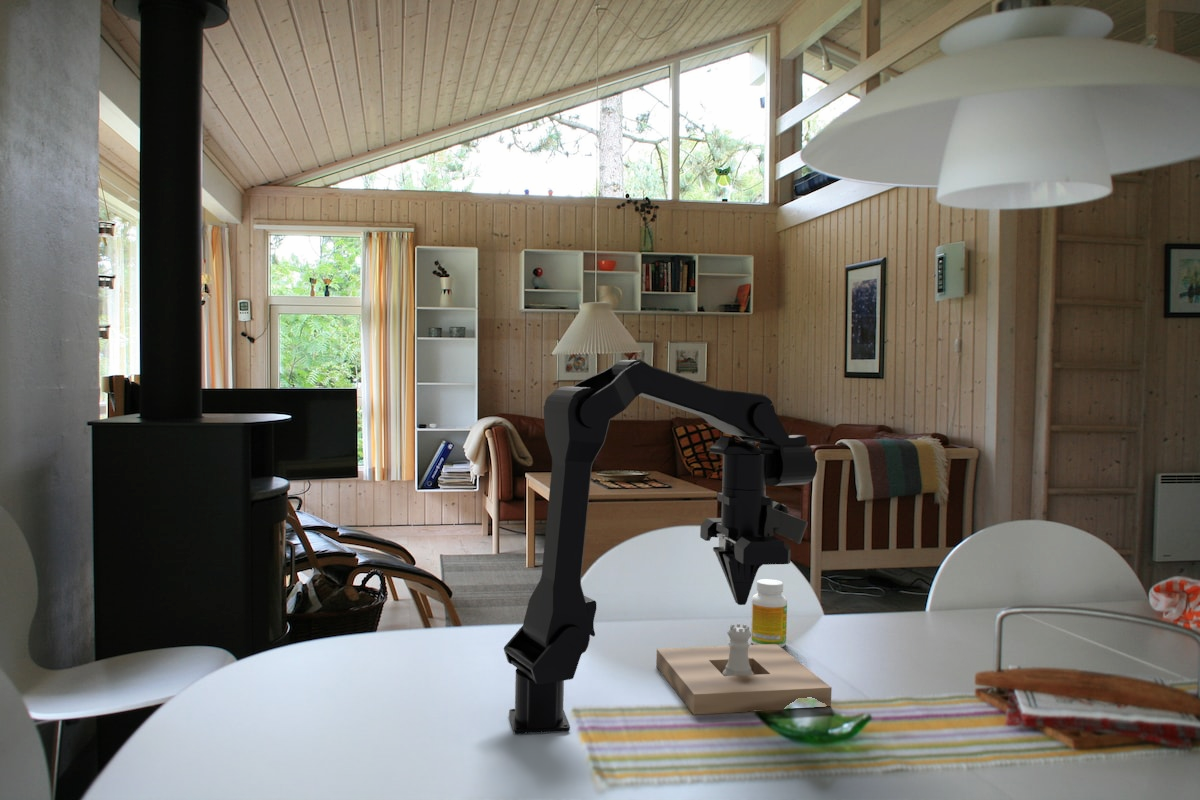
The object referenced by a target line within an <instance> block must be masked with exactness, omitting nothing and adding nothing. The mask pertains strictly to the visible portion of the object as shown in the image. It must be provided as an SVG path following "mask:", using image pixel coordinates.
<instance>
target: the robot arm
mask: <svg viewBox="0 0 1200 800" xmlns="http://www.w3.org/2000/svg"><path fill="white" fill-rule="evenodd" d="M638 396H639V397H641V398H644V399H648V400H649V401H651V400H652V401H654V402H657V403H660V404H663V405H667V406H669V407H673V408H676V409H679V410H683V411H685V412H687V413H691V414H694V415H697V417H700V418H702V419H704V420H705V422H707V423H708V424H709V425H710V426H711V427H713V428H715V429H717V430H719V431H721V432H722V433H724V434H727V435H721V436H720V437H719V439H718V440H717V441H716V442H714V443H713V444H712V445H711V446H709V449H708V450H709V453H710V454H716V455H717V454H718V455H722V481H721V483H722V488H721V492H717V493H716V496H717V497H716V498H717V499H716V501H718V502H721V517H707V518H706V519H705V520H703V521H702V523H701V524H700V534H699V538H700V539H703V540H704V541H709V542H710V540H711V539H712V538H718V546H713V548H712V551H713V552H714V553H715V556H716V558H717V561H718V563H719V565H720V567H721V569H722V572H723V574H724V575H723V576H724V577H725V579H726V582H727V584H728V587H729V589H730V592H731V594H732V596H733V597H732V598H733V600H734V602H735V604H737V605H738V606H745V605H746V604H747V602H748V599H749V596H750V592H751V590H752V587H753V584H754V581H755V580H756V579H755V578H756V575H757V573H758V570H759V568H761V567H762V566H764V565H766V566H767V565H789V564H791V552H792V551H791V547H790V546H789V544H787V543H786V541H785V540H783V539H780V538H778V537H777V536H774V534H776V535H779V536H781V537H783V538H786V539H789V540H791V541H792V542H793V543H796V544H799V545H800V544H801V543H802V540H803V538H804V534H805V531H806V530H807V529H806V528H807V526H808V524H809V522H808V521H807V520H804V519H802V518H799V517H797V516H794V515H793V514H792V515H791V514H789V512H788V506H787V505H784V504H782V503H779V502H778V501H777V502H776V501H773V499H772V498H771V497H770V496H767V495H766V493H767V492H766V489H767V487H766V486H767V485H768V486H771V487H774V486H775V487H777V486H778V487H779V486H795V485H796V486H797V485H808V484H809V483H811V482H812V481H813V480H814V478H815V477H816V474H817V471H818V461H817V459H816V456H815V453H814V451H813V449H812V448H811V446H809V445H808V437H807V436H806V435H802V434H791V435H788V433H787V431H786V429H785V428H784V426H783V423H782V422H781V420H780V418H779V417H778V415H777V413H776V409H775V406H774V404H773V403H774V401H773V400H772V398H770V397H769V396H767V395H766V394H763V393H762V394H761V393H753V392H745V391H736V390H727V389H726V390H724V389H720V388H719V389H718V388H715V387H713V386H710V385H707V384H704V383H701V382H698V381H695V380H693V379H690V378H686V377H684V376H681V375H678V374H676V373H673V372H670V371H666V370H664V369H661V368H658V367H656V366H652V365H650V364H648V363H647V362H646V361H643V360H641V359H640V360H639V359H623V360H618V361H617V362H616V363H614V364H612V365H611V366H610V367H607V369H605V370H603V371H600V372H598V373H596V374H594V375H592V376H589V377H587V378H585V379H582V380H580V381H579V382H577V383H575V384H573V385H572V386H561V387H559V388H556V389H555V390H553V391H552V392H551V393H550V394H548V395H547V397H546V399H545V400H544V401H545V402H544V406H543V421H544V436H545V439H546V442H547V446H548V449H549V452H550V456H551V462H552V463H551V471H550V472H551V473H550V482H549V483H550V484H549V495H548V504H547V505H548V506H547V516H546V523H545V525H546V526H545V536H544V545H543V547H544V548H543V557H542V567H541V575H540V579H539V582H538V583H537V585H536V587H535V589H534V590H533V592H532V594H531V595H530V598H529V600H528V603H527V608H526V612H525V616H524V620H523V623H522V626H521V627H520V628H519V629H518V630H517V631H516V632H515V634H514V635H513V636H512V637H511V638H510V640H508V642H507V643H506V644H505V646H504V647H503V651H504V654H505V657H506V660H507V663H509V664H510V665H512V666H514V667H515V668H516V669H515V684H514V685H515V687H514V688H515V691H514V692H515V695H514V696H515V697H514V708H510V709H509V711H508V715H509V719H510V723H511V727H512V730H513V731H512V732H513V734H516V735H521V734H537V733H556V732H568V731H570V730H571V725H570V723H569V720H568V717H567V714H566V712H565V710H564V695H565V690H564V689H565V681H568V680H569V681H570V680H573V679H574V677H575V674H576V672H577V669H578V666H579V663H580V660H581V657H582V654H585V653H586V651H587V649H588V648H589V644H590V640H591V637H596V632H595V629H594V628H595V627H594V624H595V623H594V621H595V616H596V613H597V612H596V611H597V601H596V600H594V599H592V598H590V597H588V596H586V595H585V594H584V591H583V587H582V574H583V573H582V572H583V563H584V562H583V561H584V551H585V541H586V531H587V530H586V529H587V521H588V520H587V519H588V509H589V501H590V500H589V499H590V491H591V490H590V488H591V479H592V469H593V468H592V467H593V464H594V461H595V460H596V457H597V456H598V454H599V452H600V451H601V449H602V447H603V445H604V444H605V442H606V438H607V433H608V430H609V426H610V422H611V419H613V418H614V417H616V416H617V415H618V414H621V412H623V411H625V410H626V409H627V408H628V406H629V405H630V404H631V403H632V402H633V401H634V400H635V399H636V398H637V397H638ZM730 435H731V436H730ZM733 436H736V437H737V438H738V439H740V440H738V441H737V440H735V439H734V438H733ZM755 443H756V444H758V446H757V445H756V444H755ZM766 484H767V485H766Z"/></svg>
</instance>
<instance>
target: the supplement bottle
mask: <svg viewBox="0 0 1200 800" xmlns="http://www.w3.org/2000/svg"><path fill="white" fill-rule="evenodd" d="M756 590H757V593H755V594H754V595H753V596H752V599H751V616H750V617H751V621H750V622H751V623H750V626H751V627H750V633H751V634H752V635H751V637H750V642H751V645H763V644H777V645H778V646H780V647H781V648H783V647H786V644H787V620H788V619H787V618H788V617H787V616H788V599H787V597H785V595H783V594H782V593H783V592H784V582H782V581H781V580H779V579H773V578H772V579H771V578H762V579H758V580H757V581H756Z"/></svg>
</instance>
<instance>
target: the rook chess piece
mask: <svg viewBox="0 0 1200 800" xmlns="http://www.w3.org/2000/svg"><path fill="white" fill-rule="evenodd" d="M726 633H727V635H728V637H729V639H730V640H729V643H728V646H730V653H729V659H728V663H727V665H726V666H725V667H726V669H725V670H724V671H723V672H722V675H723V676H738V675H754V673H753V672H752V671H751V667H750V665H749V658H748V647H749V646H750V645H751V644H749V639H751V635H752V634H751V630H750V626H747V625H746V624H742V626H741V623H736V625H735V624H733V623H732V624H730V626H729V630H728V631H727V632H726Z"/></svg>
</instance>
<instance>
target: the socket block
mask: <svg viewBox="0 0 1200 800" xmlns="http://www.w3.org/2000/svg"><path fill="white" fill-rule="evenodd" d="M749 645H750V646H749V647H748V658H749V665H750V667H751V671H752V672H753V673H754V675H738V676H723V675H722V672H723V671H724V670H725V669H726V667H725V666H726V665H727V663H728V659H729V653H730V646H729V645H720V646H719V645H717V646H713V645H712V646H694V647H665V648H662V647H661V648H656V658H655V659H656V661H655V662H656V664H655V665H656V668H657V669H658V670H659V671H660V673H661V674H662V676H663V677H664V678H665V679H666V681H667V683H669V684H670V686H671V687H672V689H674V691H675V693H676V694H677V695H678V697H680V699H681V701H683V703H684V704H685V706H687V708H688V709H689V711H690V712H691V713H692V714H693V715H695V716H696V715H710V714H711V715H713V714H729V713H749V712H748V711H751V712H755V711H754V710H766V711H767V712H768V711H782V710H781V709H784V708H785V707H786V706H787V705H789V704H790V703H792V702H794V701H795V700H796V699H798V698H807V697H812V698H815V699H817V700H818V701H820V702H822V703H825V704H826V705H827V706H831V707H832V691H833V690H832V689H833V688H832V686H830V684H828V683H826V682H825V681H824V680H823V679H821V678H820V677H819V676H818V675H816V674H815V673H814V672H813V671H812V670H810V669H809V668H808V667H807V666H805V664H803V663H801V662H800V661H799V660H798V659H796V658H795V657H794V656H793V655H791V654H790V653H789V652H787V651H786V650H785V649H784V648H783V647H780V646H778V645H777V644H763V645H754V644H749Z"/></svg>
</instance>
